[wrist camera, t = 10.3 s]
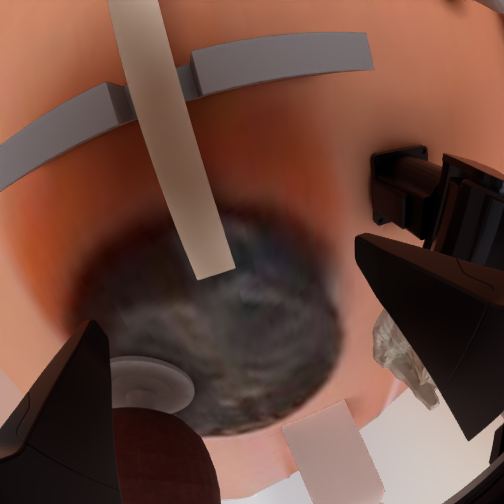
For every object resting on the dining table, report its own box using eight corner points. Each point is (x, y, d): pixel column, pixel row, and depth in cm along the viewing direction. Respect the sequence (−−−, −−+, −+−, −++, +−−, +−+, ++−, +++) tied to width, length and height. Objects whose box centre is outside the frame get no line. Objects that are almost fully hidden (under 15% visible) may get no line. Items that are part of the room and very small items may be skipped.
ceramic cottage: (366, 371, 37) (419, 444, 24) (375, 289, 29) (466, 381, 16) (437, 326, 39) (491, 381, 26) (457, 245, 31) (536, 301, 18)
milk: (280, 426, 40) (329, 555, 19) (343, 399, 41) (406, 523, 19) (295, 441, 47) (335, 545, 25) (347, 419, 47) (396, 519, 25)
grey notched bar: (308, 50, 15) (366, 33, 9) (314, 75, 16) (374, 69, 10) (33, 141, 14) (-25, 165, 8) (42, 165, 15) (-12, 199, 9)
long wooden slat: (153, -17, 10) (141, -68, 5) (218, 215, 20) (235, 268, 14) (123, -8, 10) (98, -52, 4) (191, 223, 20) (197, 280, 14)
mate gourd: (145, 423, 32) (159, 550, 15) (64, 377, 25) (51, 533, 8) (234, 385, 31) (279, 541, 14) (152, 323, 24) (168, 559, 7)
